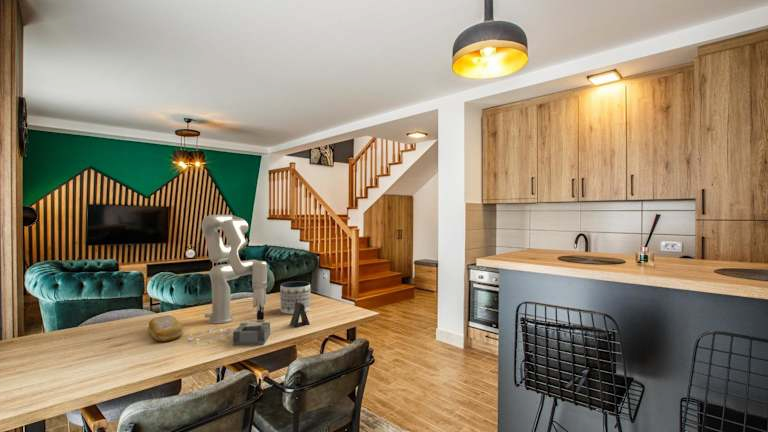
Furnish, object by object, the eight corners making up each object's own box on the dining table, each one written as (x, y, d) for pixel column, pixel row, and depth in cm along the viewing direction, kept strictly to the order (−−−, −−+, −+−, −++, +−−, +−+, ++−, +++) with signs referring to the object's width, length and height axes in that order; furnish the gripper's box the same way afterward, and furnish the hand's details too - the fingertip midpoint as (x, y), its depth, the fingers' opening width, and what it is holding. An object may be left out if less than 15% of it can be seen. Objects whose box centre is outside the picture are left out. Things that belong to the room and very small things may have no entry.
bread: (172, 326, 199) (172, 311, 199) (188, 338, 180) (188, 322, 180) (143, 331, 189) (143, 316, 189) (157, 345, 171) (157, 328, 170)
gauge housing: (233, 345, 170) (233, 332, 170) (241, 335, 184) (241, 323, 184) (264, 344, 172) (264, 331, 172) (270, 334, 186) (270, 322, 185)
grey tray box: (238, 335, 178) (238, 325, 178) (243, 329, 187) (242, 319, 187) (267, 334, 180) (267, 324, 179) (271, 328, 188) (271, 319, 188)
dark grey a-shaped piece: (294, 327, 196) (293, 305, 196) (289, 324, 201) (289, 303, 200) (309, 324, 201) (309, 302, 201) (305, 321, 206) (305, 300, 206)
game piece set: (229, 329, 195) (229, 321, 195) (231, 341, 177) (231, 333, 177) (188, 334, 186) (188, 326, 186) (186, 347, 168) (186, 339, 168)
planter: (283, 306, 237) (283, 281, 237) (311, 306, 239) (311, 281, 239) (278, 315, 219) (278, 287, 219) (309, 314, 221) (308, 287, 221)
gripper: (255, 282, 200) (256, 315, 200) (248, 287, 185) (249, 324, 185) (270, 281, 201) (270, 315, 201) (264, 287, 186) (264, 323, 186)
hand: (260, 319), depth 193 cm, fingers closed
